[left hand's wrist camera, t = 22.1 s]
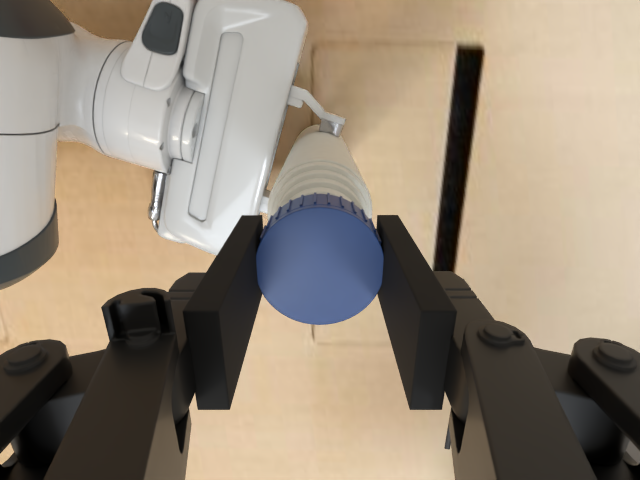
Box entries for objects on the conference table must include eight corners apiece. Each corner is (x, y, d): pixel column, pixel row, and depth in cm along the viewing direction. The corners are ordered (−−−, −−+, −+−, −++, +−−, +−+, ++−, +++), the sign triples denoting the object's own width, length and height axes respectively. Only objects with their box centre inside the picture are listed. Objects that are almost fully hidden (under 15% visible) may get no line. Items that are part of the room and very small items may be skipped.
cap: (394, 278, 15) (404, 301, 13) (289, 315, 15) (285, 342, 14) (355, 172, 13) (360, 184, 12) (240, 218, 14) (229, 236, 12)
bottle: (357, 149, 37) (424, 255, 13) (322, 188, 38) (325, 346, 15) (317, 112, 36) (312, 156, 12) (282, 154, 37) (216, 267, 13)
